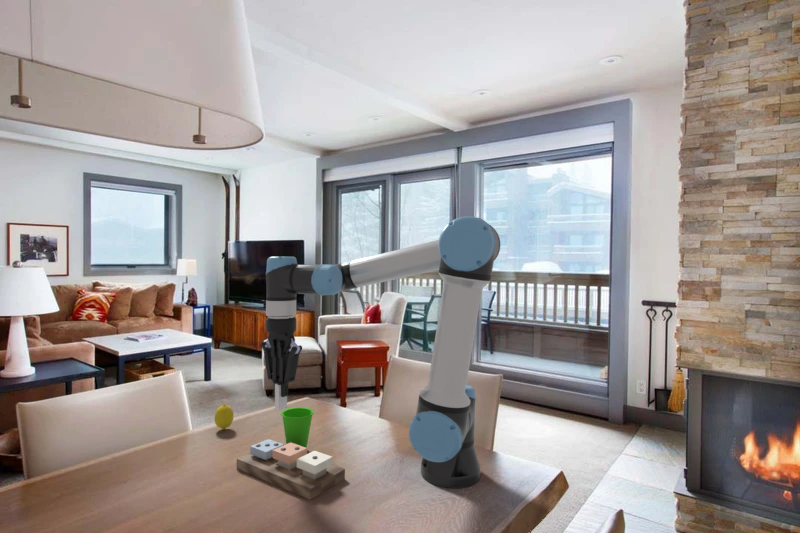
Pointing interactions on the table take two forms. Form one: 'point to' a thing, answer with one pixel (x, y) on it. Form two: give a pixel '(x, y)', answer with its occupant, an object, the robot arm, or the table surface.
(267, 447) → the tile three
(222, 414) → the lemon
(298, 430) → the cup
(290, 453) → the tile two
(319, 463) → the tile one
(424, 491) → the table surface
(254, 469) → the board
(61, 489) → the table surface
